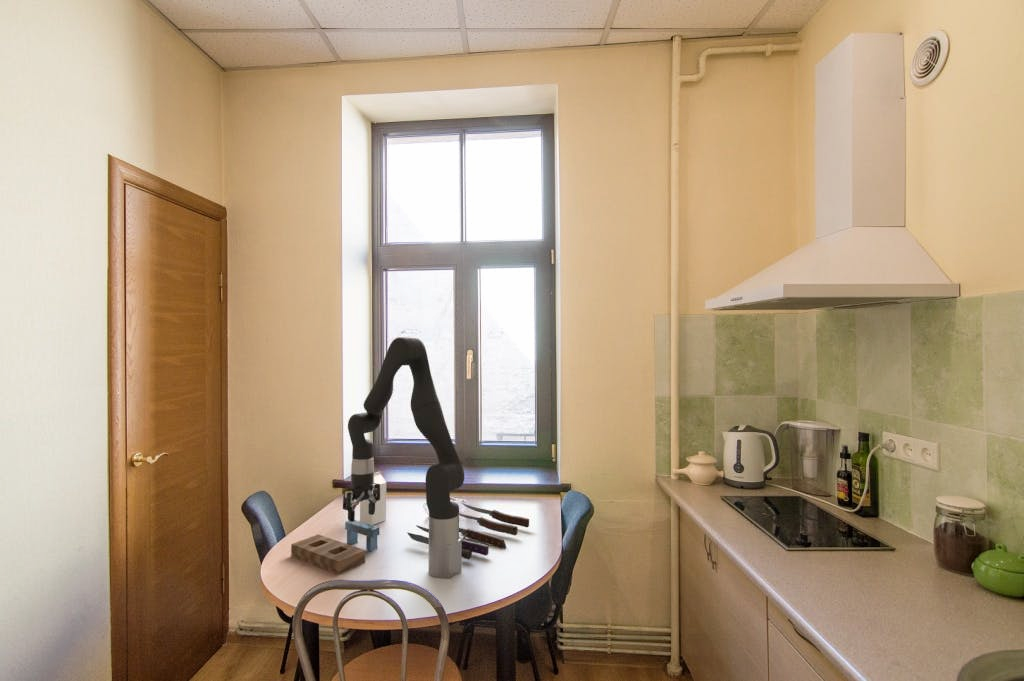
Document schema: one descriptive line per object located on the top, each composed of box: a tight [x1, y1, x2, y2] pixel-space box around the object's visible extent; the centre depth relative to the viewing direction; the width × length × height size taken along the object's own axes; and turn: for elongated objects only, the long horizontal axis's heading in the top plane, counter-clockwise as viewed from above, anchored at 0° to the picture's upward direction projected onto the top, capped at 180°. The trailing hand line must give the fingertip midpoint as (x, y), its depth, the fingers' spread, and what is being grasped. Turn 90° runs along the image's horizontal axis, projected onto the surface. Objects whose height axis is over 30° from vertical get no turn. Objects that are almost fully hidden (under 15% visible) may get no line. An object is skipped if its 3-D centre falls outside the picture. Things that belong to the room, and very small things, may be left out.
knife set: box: [406, 501, 530, 560], centre depth 174 cm, size 35×33×8 cm
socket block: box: [290, 534, 366, 575], centre depth 156 cm, size 24×10×4 cm, turn 57°
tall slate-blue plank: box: [344, 519, 380, 553], centre depth 166 cm, size 14×3×8 cm, turn 57°
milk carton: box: [359, 470, 387, 526], centre depth 191 cm, size 7×7×19 cm
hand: (361, 517), depth 166 cm, fingers open, 8 cm apart
